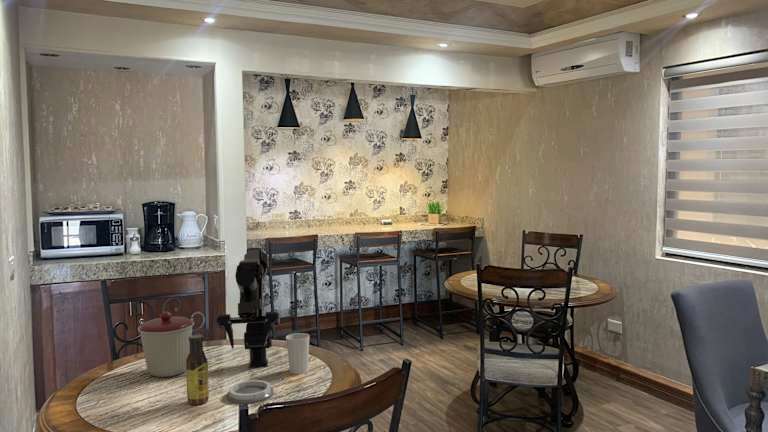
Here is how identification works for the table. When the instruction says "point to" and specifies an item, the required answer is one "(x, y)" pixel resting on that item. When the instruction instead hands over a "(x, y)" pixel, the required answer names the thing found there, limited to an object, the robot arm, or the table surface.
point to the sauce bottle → (197, 372)
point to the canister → (166, 344)
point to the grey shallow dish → (250, 392)
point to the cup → (298, 352)
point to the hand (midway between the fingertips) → (248, 347)
